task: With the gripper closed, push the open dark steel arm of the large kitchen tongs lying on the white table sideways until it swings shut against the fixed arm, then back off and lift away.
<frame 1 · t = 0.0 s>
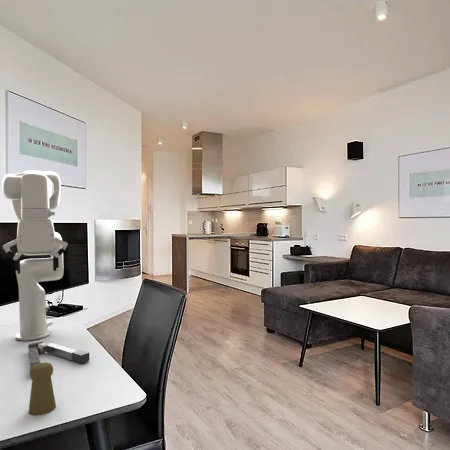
hand: (37, 271, 110), 31 cm above the table, tool pointing down, fingers open, 9 cm apart
cork: (42, 409, 89), on the table
tong base: (41, 353, 128), on the table
tong arm: (62, 352, 124), point 2 cm above the table, hinge at 25.0°
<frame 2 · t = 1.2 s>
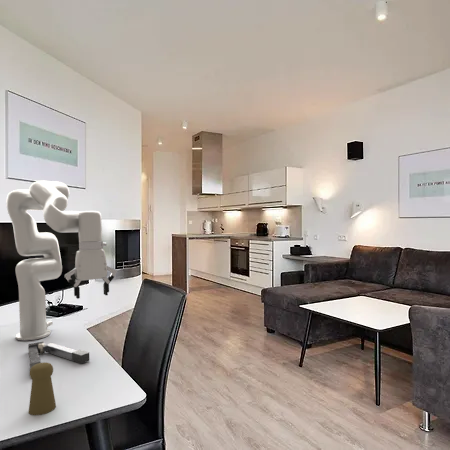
hand: (92, 296, 126), 20 cm above the table, tool pointing down, fingers open, 8 cm apart
nothing on the table moved.
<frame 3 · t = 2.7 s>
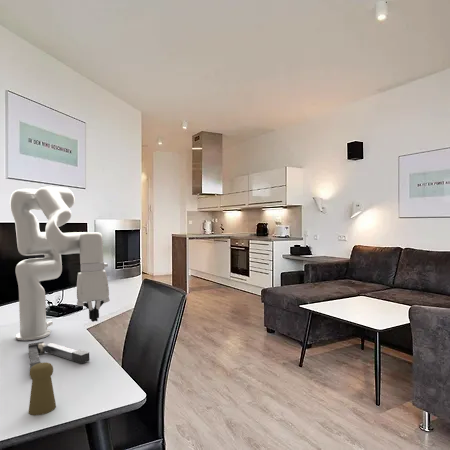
hand: (94, 320, 126), 12 cm above the table, tool pointing down, fingers closed
nothing on the table moved.
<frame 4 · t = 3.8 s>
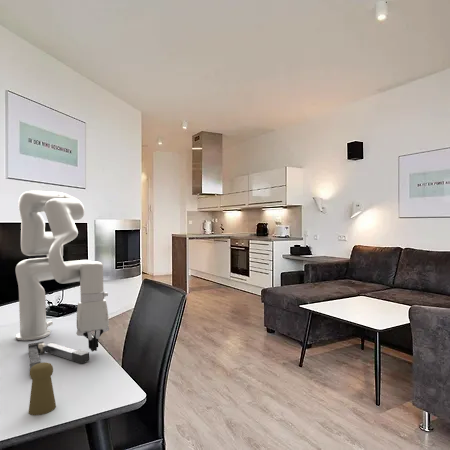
hand: (93, 349, 126), 2 cm above the table, tool pointing down, fingers closed
nothing on the table moved.
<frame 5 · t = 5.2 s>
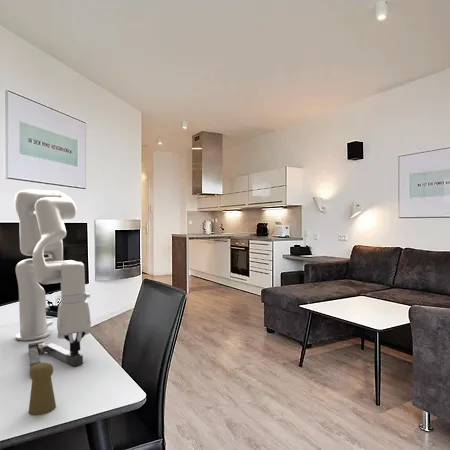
hand: (75, 353, 123), 2 cm above the table, tool pointing down, fingers closed
tong arm: (59, 353, 123), point 2 cm above the table, hinge at 17.7°
everything else where it was.
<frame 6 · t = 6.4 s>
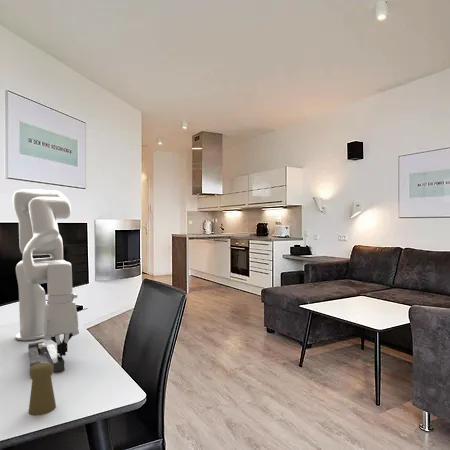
hand: (62, 354, 120), 2 cm above the table, tool pointing down, fingers closed
tong arm: (50, 356, 120), point 2 cm above the table, hinge at 1.1°, touching gripper
everything else where it was.
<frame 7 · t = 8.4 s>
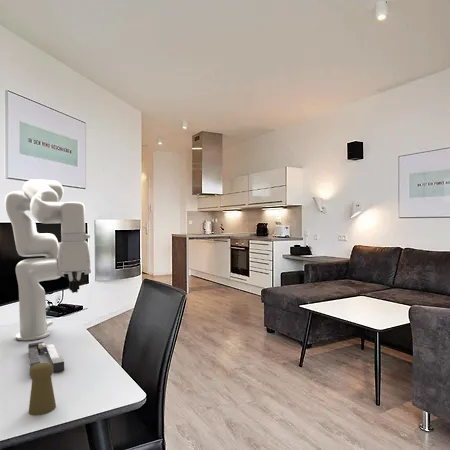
hand: (74, 291, 124), 22 cm above the table, tool pointing down, fingers closed
tong arm: (50, 356, 120), point 2 cm above the table, hinge at 0.9°
everything else where it was.
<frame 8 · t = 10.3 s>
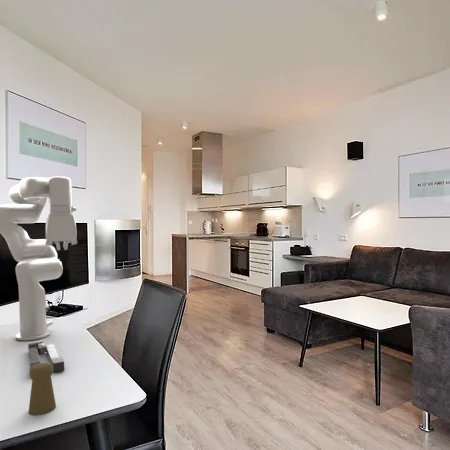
hand: (62, 260, 133), 32 cm above the table, tool pointing down, fingers closed
nothing on the table moved.
at the end: tong arm at +1° (first picture: +25°) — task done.
